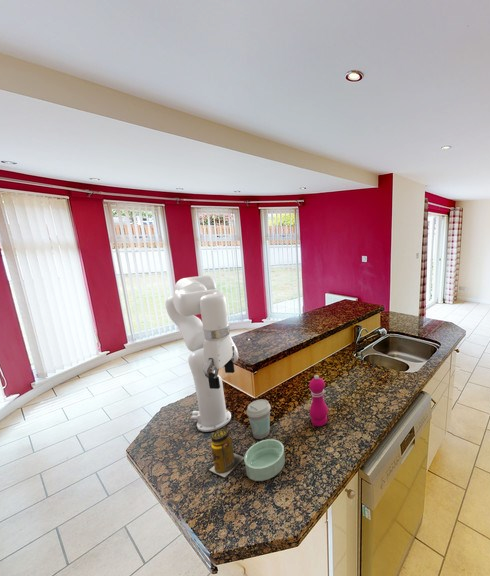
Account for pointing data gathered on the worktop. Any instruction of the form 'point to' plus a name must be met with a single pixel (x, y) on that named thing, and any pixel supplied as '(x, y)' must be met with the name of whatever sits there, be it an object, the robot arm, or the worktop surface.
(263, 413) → the coffee cup
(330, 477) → the worktop surface
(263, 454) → the bowl
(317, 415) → the pepper mill
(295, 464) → the worktop surface
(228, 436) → the condiment
